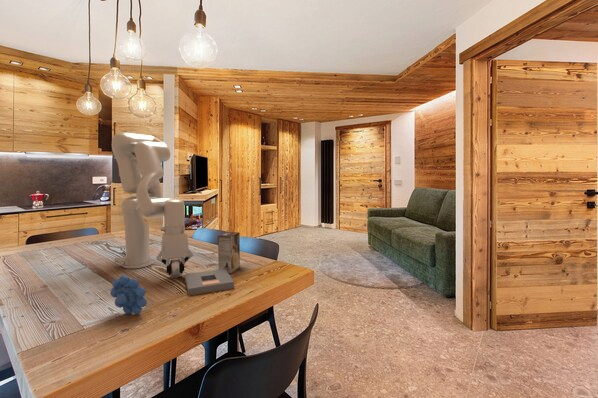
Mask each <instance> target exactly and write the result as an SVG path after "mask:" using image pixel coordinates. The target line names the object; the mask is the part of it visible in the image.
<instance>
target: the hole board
mask: <svg viewBox="0 0 598 398" xmlns="http://www.w3.org/2000/svg"><path fill="white" fill-rule="evenodd" d="M184 282H185V286H186V290H187V294H188V296H196V295H200V294H207V293H213V292H219V291H226V290H227V291H228V290H231V289H232V290H234V289H235V281H234V279H233V277H232V276H231V275H230V274H229V273H228V272H227V270H226V269H220V270H219V269H214V270H213V269H212V270H205V271H197V272H191V273H185V274H184Z"/></svg>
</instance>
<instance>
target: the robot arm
mask: <svg viewBox="0 0 598 398" xmlns="http://www.w3.org/2000/svg"><path fill="white" fill-rule="evenodd" d="M111 150H112V153H113V156H114V158H115V160H116V162H117V163H116V164H117V166H118V172H119V177H120V182H121V188H122V190H123V192H124V193H125V194H129V195H130V194H131V195H132V194H134V195H136V196H130V197H126V198H124V199H123V200H122V201H121V211H122V212H121V213H122V216H123V221H124V233H125V234H124V237H125V256H123V257H115V258H114V263H117V264H118V263H119V264H121V263H122V268H124V269H129V270H130V269H141V268H146V267H149V266H152V265H153V264H154V261H155V260H154V259H153V258H151V256H150V255H151V254H150V253H151V252H150V228H149V224H148V222H147V221H146V220H145V217H146V218H155V217H162V216H163V217H164V218H163V219H164V220H163V221H164V222H163V223H164V226H163V227H160V232H163V233H162V236H161V249H160V251H159V254H158V255H157V256H156V260H157V261H159V262H161V263H162V264H164V265H165V266H166V273H167V274H168V276H170V275H171V269H170V260H171V259H176V258H179V259H181V275H183V272H184V271H185V265H186V263H187V262H188V261H189V260H190V259H191V258H193V257H194V253H193V252H192V251H191V250H190V248H189V238H188V233H187V232H186V231H185V230H186V229H185V228H186V227H185V225H186V223H185V216H186V215H185V202H184V200H183V199H181V198H180V199H179V198H173V197H166V196H165V197H163V193H162V187H161V182H160V179H162V178H163V177H164V176H165V171H164V169H163V166H162V163H161V162H167V161H169V159H170V158H171V150H170V148H169V145H168V144H167V143H166V142H164V141H163V140H161V139H159V138H157V137H156V136H154V135H151V134H143V133H135V132H128V131H127V132H125V131H124V132H123V131H122V132H118V133H116V134H114V135H113V137H112V140H111ZM133 153H134V154H133Z"/></svg>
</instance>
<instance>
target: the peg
mask: <svg viewBox="0 0 598 398" xmlns="http://www.w3.org/2000/svg"><path fill="white" fill-rule="evenodd" d="M169 263H170V269H171V275H169V277H170V279H178V278H180V277H182V274H181V258H176V259H170V262H169Z"/></svg>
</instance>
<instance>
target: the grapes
mask: <svg viewBox="0 0 598 398" xmlns="http://www.w3.org/2000/svg"><path fill="white" fill-rule="evenodd" d="M111 285H112V288H111V290H110V296H111V297H113V298H115V299H114V305H115V306H116V307H117V308H121V309H122V311H123V312H124V313H125V314H127V315H130V314H132V313H133V314H135V315H138V314H140V313H142V310H143V308H145V307H146V305H147V303H148V301H147V299H146V298H145V296H146V290H145V288H144V287H143V286H139V285H140V282H139V281H138V279H137V278H133V277H132V278H130V277H129V276H128V275H126V274H123V275H121V276H120V277H119V278H114V279H113V280H112V283H111Z"/></svg>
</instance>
